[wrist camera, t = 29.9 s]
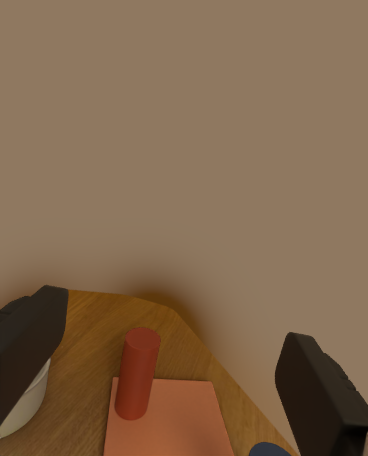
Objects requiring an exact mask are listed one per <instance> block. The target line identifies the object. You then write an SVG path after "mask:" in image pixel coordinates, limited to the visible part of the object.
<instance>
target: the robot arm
mask: <svg viewBox="0 0 368 456" xmlns="http://www.w3.org/2000/svg"><path fill="white" fill-rule="evenodd" d="M67 304H68V290H67V289H65V288H60V287H54V286H49V285H45V286H43V287H42V288H41V289H39V290H38V291H37V292H36V293H35V294H34V295H32V296H31V297H29V296H24V297H22V298H19V299H17V300H14V301H12V302H10V303H8V304H7V305H6V306H5V307H3V308H2V309H1V310H0V426H1V424H2V423H3V422H4V420H5V419H6V418H7V416H8V415H9V413H10V412H11V411H12V409H13V408H14V407H15V405H16V404H17V402H18V401H19V400H20V398H21V397H22V395H23V394H24V393H25V391H26V390H27V389H28V387H29V386H30V384H31V383H32V382H33V380H34V379H35V378H36V376H37V375H38V373H39V372H40V371H41V369H42V368H43V366H44V365H45V364H46V362H47V361H48V360H49V358H50V357H51V355H52V354H53V353H54V351H55V350H56V348H57V347H58V346H59V344H60V342H61V340H62V337H63V334H64V331H65V324H66V314H67ZM275 384H276V388H277V391H278V394H279V396H280V399H281V402H282V405H283V407H284V410H285V413H286V416H287V419H288V421H289V424H290V427H291V430H292V432H293V435H294V437H295V440H296V443H297V446H298V449H299V452H300V454H301V456H368V405H367V403H366V402H365V400H364V399H363V398H362V396H361V395H360V393H359V392H358V391H356V388H355V386H354V385H353V384H352V382H351V381H350V380H348V376H347V375H346V374H345V372H344V371H343V369H342V368H341V367H340V365H339V364H337V363H336V362H335V361H334V360H333V359H332V358H330V356H328V355H327V354H326V353H323V351H322V350H321V348H320V347H319V345H318V344H317V342H316V341H315V339H314V338H313V337H311V336H308V335H303V334H298V333H293V332H289V333H288V334H287V336H286V338H285V341H284V344H283V347H282V351H281V354H280V357H279V360H278V363H277V366H276V371H275Z"/></svg>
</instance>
